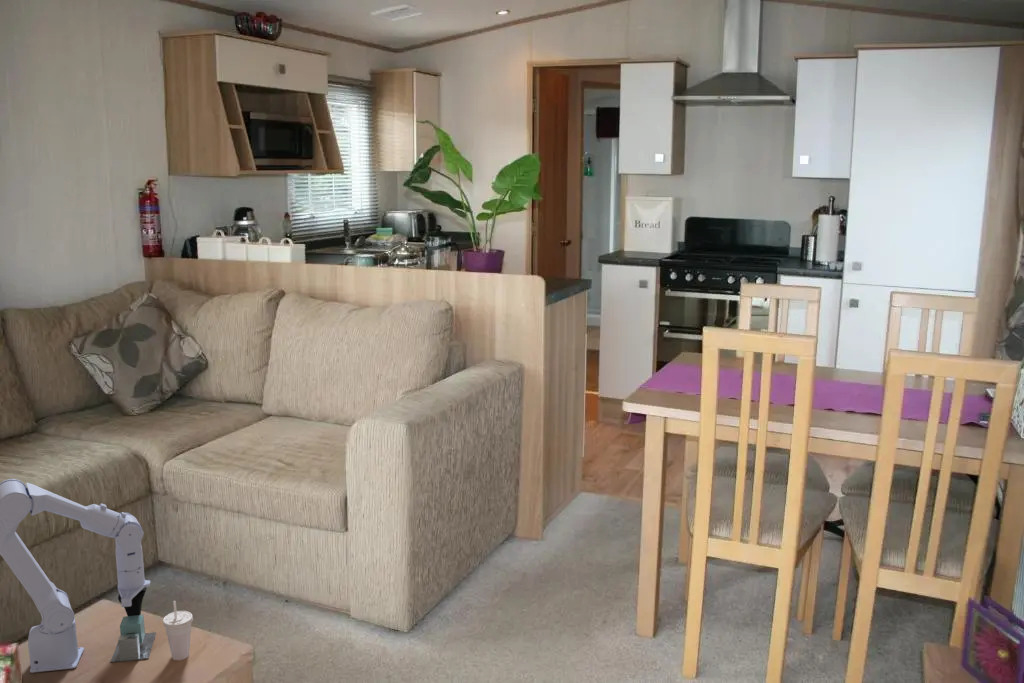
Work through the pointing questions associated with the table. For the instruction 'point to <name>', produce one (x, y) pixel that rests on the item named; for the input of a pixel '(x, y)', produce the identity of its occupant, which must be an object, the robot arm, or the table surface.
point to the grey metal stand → (133, 647)
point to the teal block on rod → (133, 626)
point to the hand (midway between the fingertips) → (134, 619)
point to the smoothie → (178, 632)
